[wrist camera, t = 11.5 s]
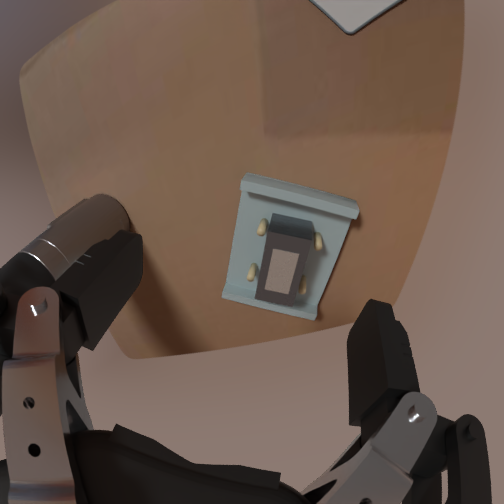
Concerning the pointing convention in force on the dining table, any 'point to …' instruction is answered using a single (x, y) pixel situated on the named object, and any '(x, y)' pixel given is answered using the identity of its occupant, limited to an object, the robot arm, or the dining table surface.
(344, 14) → the smartphone
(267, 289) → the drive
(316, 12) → the dining table surface
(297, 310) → the tray
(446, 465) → the robot arm
